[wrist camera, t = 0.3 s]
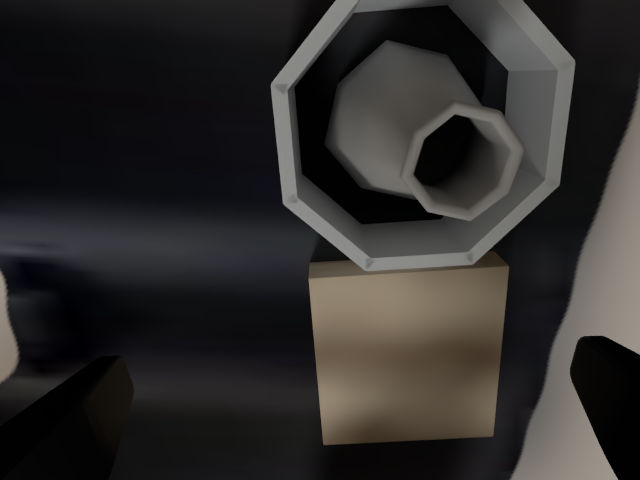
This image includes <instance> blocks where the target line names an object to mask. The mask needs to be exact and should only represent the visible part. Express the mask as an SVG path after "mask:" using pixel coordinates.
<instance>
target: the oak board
mask: <svg viewBox="0 0 640 480" xmlns="http://www.w3.org/2000/svg"><path fill="white" fill-rule="evenodd" d="M508 273H509V266H508V265H507V264H506V263H505V261H504V260H503V259H502V258H501V257H500V256H499V255H498V254H497V253H496V252H495V251H487V252H486V253H485V254H484V255H483V256H482V257H481V258H480V259H479V260H477V261H476V262H475V263H474V264H472V265H459V266H443V267H427V268H411V269H395V270H379V271H365V270H363V269H362V268H361V267H360V266H359V265H357V264H356V263H355V262H354V261H352V260H343V261H327V262H311V263H310V266H309V288H310V299H311V311H312V322H313V333H314V344H315V356H316V367H317V378H318V389H319V401H320V412H321V423H322V434H323V445H335V444H354V443H374V442H394V441H413V440H433V439H453V438H472V437H492V436H493V432H494V422H495V411H496V400H497V390H498V379H499V369H500V358H501V347H502V337H503V326H504V316H505V305H506V295H507V284H508Z"/></svg>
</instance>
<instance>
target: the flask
mask: <svg viewBox="0 0 640 480" xmlns="http://www.w3.org/2000/svg"><path fill="white" fill-rule="evenodd" d="M324 145H325V146H326V147H327V149H328V150H329V151H330V152H331V153H332V154H333V156H334V157H335V158H336V159H337V160H338V162H339V163H340V164H341V165H342V166H343V168H344V169H345V170H346V171H347V172H348V173H349V175H350V176H351V177H352V178H353V179H354V181H355V182H356V183H357V184H358V185H359V187H360V188H363V189H368V190H372V191H377V192H381V193H386V194H390V195H395V196H399V197H404V198H409V199H413V200H416V199H417V200H418V201H419V202H420V203H421V205H422V206H423V207H424V208H425V210H426V211H427V212H430V213H435V214H439V215H444V216H448V217H453V218H457V219H462V220H467V221H471V220H473V219H474V218H476V217H477V216H478V215H480V214H481V213H482V212H484V211H485V210H487V209H488V208H489V207H491V206H492V205H493V204H495V203H496V202H497V201H499V200H500V199H502V198H503V197H504V196H506V195H507V194H508V193H509V191H510V189H511V186H512V183H513V181H514V178H515V176H516V173H517V171H518V168H519V166H520V163H521V160H522V158H523V155H524V153H525V150H526V148H525V146H524V145H523V143H522V142H521V140H520V139H519V137H518V136H517V134H516V133H515V131H514V130H513V128H512V127H511V126H510V124H509V123H508V121H507V120H506V118H505V117H504V115H503V114H502V112H501V111H499V110H495V109H491V108H487V107H483V106H482V105H481V103H480V102H479V100H478V99H477V97H476V96H475V94H474V93H473V92H472V90H471V89H470V87H469V86H468V84H467V83H466V81H465V80H464V79H463V77H462V76H461V74H460V73H459V71H458V70H457V68H456V67H455V65H454V64H453V63H452V61H451V60H450V58H449V57H448V55H446V54H442V53H438V52H433V51H429V50H425V49H421V48H417V47H413V46H409V45H405V44H401V43H397V42H393V41H389V40H386V41H385V42H384V43H383V44H381V45H380V46H379V47H378V48H377V49H376V50H375V51H374V52H373V53H371V54H370V55H369V56H368V57H367V58H366V59H365V60H364V61H363V62H361V63H360V64H359V65H358V66H357V67H356V68H355V69H354V70H353V71H351V72H350V73H349V74H348V75H347V76H346V77H345V78H344V79H343V80H341V81H340V82H339V83H338V85H337V89H336V94H335V98H334V103H333V107H332V112H331V116H330V121H329V125H328V129H327V134H326V138H325V143H324Z"/></svg>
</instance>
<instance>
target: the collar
mask: <svg viewBox="0 0 640 480" xmlns="http://www.w3.org/2000/svg"><path fill="white" fill-rule="evenodd" d="M444 5H448V6H449V8H450V9H451V10H452V11H453V12H454V13H455V14H456V15H457V16H458V17H459V18H460V19H461V20H462V22H463V23H464V24H465V25H466V26H467V27H468V28H469V29H470V30H471V31H472V32H473V33H474V34H475V36H476V37H477V38H478V39H479V40H480V41H481V42H482V43H483V44H484V45H485V46H486V47H487V48H488V50H489V51H490V52H491V53H492V54H493V55H494V56H495V57H496V58H497V59H498V60H499V61H500V62H501V64H502V65H503V66H504V67H505V68H506V69H507V70H508V83H507V96H506V108H505V118H506V120H507V121H508V123H509V124H510V126H511V127H512V128H513V130H514V131H515V133H516V134H517V136H518V137H519V139H520V140H521V142H522V143H523V145H524V146H525V148H526V150H525V153H524V155H523V158H522V160H521V163H520V166H519V168H518V171H517V173H516V176H515V178H514V181H513V183H512V186H511V189H510V191H509V193H508V194H507V195H506V196H504V197H503V198H502V199H500V200H499V201H497V202H496V203H495V204H493V205H492V206H491V207H489V208H488V209H487V210H485V211H484V212H482V213H481V214H480V215H478V216H477V217H476V218H474V219H473V220H471V221H467V220H462V219H457V218H453V217H448V216H444V217H443V218H442V219H439V220H424V221H409V222H393V223H378V224H363V225H362V224H361V223H359V222H358V221H357V220H356V219H355V218H354V217H352V216H351V215H350V214H349V213H348V212H347V211H345V210H344V209H343V208H342V207H341V206H339V205H338V204H337V203H336V202H335V201H334V200H332V199H331V198H330V197H329V196H328V195H326V194H325V193H324V192H323V191H322V190H321V189H319V188H318V187H317V186H316V185H315V184H313V183H312V182H311V181H310V180H309V179H308V178H306V177H305V176H304V175H303V174H302V168H301V157H300V145H299V134H298V122H297V110H296V99H295V86H296V85H297V83H298V82H299V81H300V80H301V78H302V77H303V76H304V75H305V73H306V72H307V71H308V70H309V68H310V67H311V66H312V65H313V63H314V62H315V61H316V60H317V58H318V57H319V56H320V55H321V53H322V52H323V51H324V49H325V48H326V47H327V46H328V44H329V43H330V42H331V41H332V39H333V38H334V37H335V36H336V34H337V33H338V32H339V31H340V29H341V28H342V27H343V26H344V24H345V23H346V22H347V21H348V19H349V18H350V17H351V16H352V14H353V13H356V12H369V11H381V10H394V9H406V8H419V7H431V6H444ZM574 70H575V60H574V59H573V58H572V56H571V55H570V54H569V53H568V52H567V51H566V50H565V48H564V47H563V46H562V45H561V44H560V43H559V42H558V40H557V39H556V38H555V37H554V36H553V35H552V34H551V32H550V31H549V30H548V29H547V28H546V27H545V25H544V24H543V23H542V22H541V21H540V20H539V19H538V17H537V16H536V15H535V14H534V13H533V12H532V11H531V9H530V8H529V7H528V6H527V5H526V4H525V3H524V1H523V0H336V1H335V2H334V3H333V5H332V6H331V7H330V9H329V10H328V11H327V12H326V14H325V15H324V16H323V18H322V19H321V20H320V21H319V23H318V24H317V25H316V27H315V28H314V29H313V30H312V32H311V33H310V34H309V36H308V37H307V38H306V39H305V41H304V42H303V43H302V45H301V46H300V47H299V48H298V50H297V51H296V52H295V54H294V55H293V56H292V57H291V59H290V60H289V61H288V63H287V64H286V65H285V66H284V68H283V69H282V70H281V72H280V73H279V74H278V75H277V77H276V78H275V79H274V81H273V82H272V83H271V84H272V85H271V93H272V102H273V112H274V121H275V131H276V140H277V150H278V159H279V169H280V178H281V188H282V197H283V204H284V205H285V206H286V207H287V208H289V209H290V210H291V211H292V212H294V213H295V214H296V215H297V216H298V217H300V218H301V219H302V220H303V221H305V222H306V223H307V224H308V225H310V226H311V227H312V228H313V229H314V230H316V231H317V232H318V233H319V234H321V235H322V236H323V237H324V238H325V239H327V240H328V241H329V242H330V243H332V244H333V245H334V246H335V247H336V248H338V249H339V250H340V251H341V252H343V253H344V254H345V255H346V256H348V257H349V258H350V259H351V260H352V261H354V262H355V263H356V264H357V265H359V266H360V267H361V268H362V269H363V270H365V271H379V270H395V269H411V268H427V267H443V266H459V265H472V264H474V263H475V262H476V261H477V260H479V259H480V258H481V257H482V256H483V255H484V254H485V253H486V252H487V251H488V250H489V249H491V248H492V247H493V246H494V245H495V244H496V243H497V242H498V241H499V240H500V239H501V238H503V237H504V236H505V235H506V234H507V233H508V232H509V231H510V230H511V229H512V228H513V227H515V226H516V225H517V224H518V223H519V222H520V221H521V220H522V219H523V218H524V217H525V216H527V215H528V214H529V213H530V212H531V211H532V210H533V209H534V208H535V207H536V206H538V205H539V204H540V203H541V202H542V201H543V200H544V199H545V198H546V197H547V196H548V195H550V194H551V193H552V192H553V191H554V190H555V189H556V188H557V187H558V186H559V185H560V177H561V169H562V162H563V154H564V147H565V139H566V131H567V124H568V116H569V108H570V101H571V93H572V85H573V78H574Z"/></svg>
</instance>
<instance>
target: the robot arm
mask: <svg viewBox="0 0 640 480" xmlns="http://www.w3.org/2000/svg"><path fill="white" fill-rule="evenodd" d="M570 376H571V380H572V383H573V385H574V387H575V389H576V392H577V394H578V396H579V399H580V401H581V403H582V405H583V408H584V409H585V412H586V414H587V416H588V419H589V421H590V423H591V426H592V428H593V430H594V433H595V435H596V437H597V439H598V442H599V444H600V446H601V448H602V450H603V452H604V454H605V456H606V458H607V460H608V462H609V464H610V466H611V467H612V469H613V471H614V473H615V475H616V476H617V478H618V480H640V355H639V354H637V353H635V352H634V351H632V350H630V349H628V348H626V347H624V346H622V345H620V344H618V343H616V342H614V341H613V340H610V339H609V338H606V337H604V336H584V337H581V338H580V339H579V340H578V342H577V345H576V349H575V352H574V356H573V360H572V363H571V367H570ZM133 394H134V388H133V383H132V380H131V377H130V374H129V371H128V368H127V365H126V362H125V360H124V358H123V357H122V356H118V355H115V356H101V357H99V358H97V359H96V360H94V361H93V362H91V363H90V364H88V365H87V366H86V367H84V368H83V369H81V370H80V371H78V372H77V373H76V374H74V375H73V376H71V377H70V378H68V379H67V380H66V381H64V382H63V383H61V384H60V385H58V386H57V387H56V388H54V389H53V390H51V391H50V392H48V393H47V394H46V395H44V396H43V397H41V398H40V399H38V400H37V401H36V402H34V403H33V404H31V405H30V406H28V407H27V408H26V409H24V410H23V411H21V412H20V413H18V414H17V415H16V416H14V417H13V418H11V419H10V420H8V421H7V422H5V423H4V424H3V425H1V426H0V480H108V479H109V477H110V474H111V471H112V468H113V465H114V462H115V458H116V455H117V451H118V448H119V444H120V441H121V437H122V434H123V430H124V427H125V423H126V420H127V417H128V413H129V410H130V406H131V403H132V399H133Z"/></svg>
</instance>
